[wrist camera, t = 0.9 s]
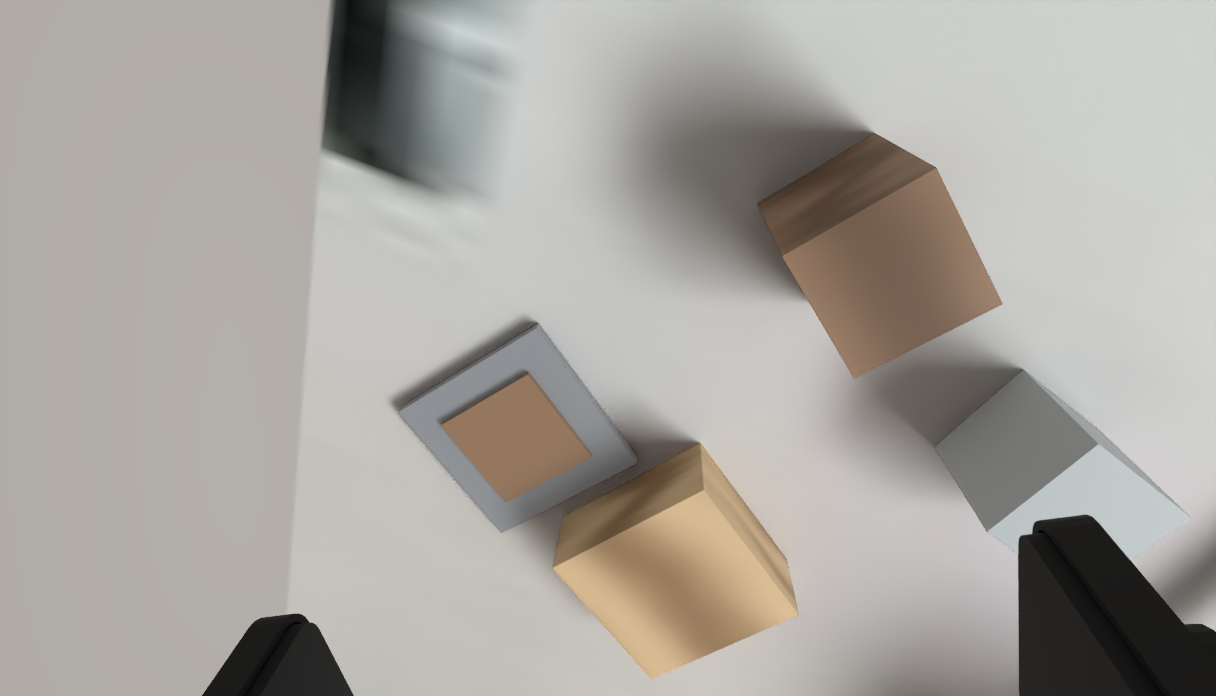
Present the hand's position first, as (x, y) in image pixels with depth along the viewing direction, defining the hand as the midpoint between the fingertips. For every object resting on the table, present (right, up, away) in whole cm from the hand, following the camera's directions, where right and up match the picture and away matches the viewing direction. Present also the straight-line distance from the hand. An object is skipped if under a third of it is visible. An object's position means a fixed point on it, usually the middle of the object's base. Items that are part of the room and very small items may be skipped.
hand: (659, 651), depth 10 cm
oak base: (+3, -5, +27) cm, 27 cm away
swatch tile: (-5, 0, +24) cm, 25 cm away
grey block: (+18, 0, +23) cm, 29 cm away
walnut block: (+9, +9, +19) cm, 23 cm away
